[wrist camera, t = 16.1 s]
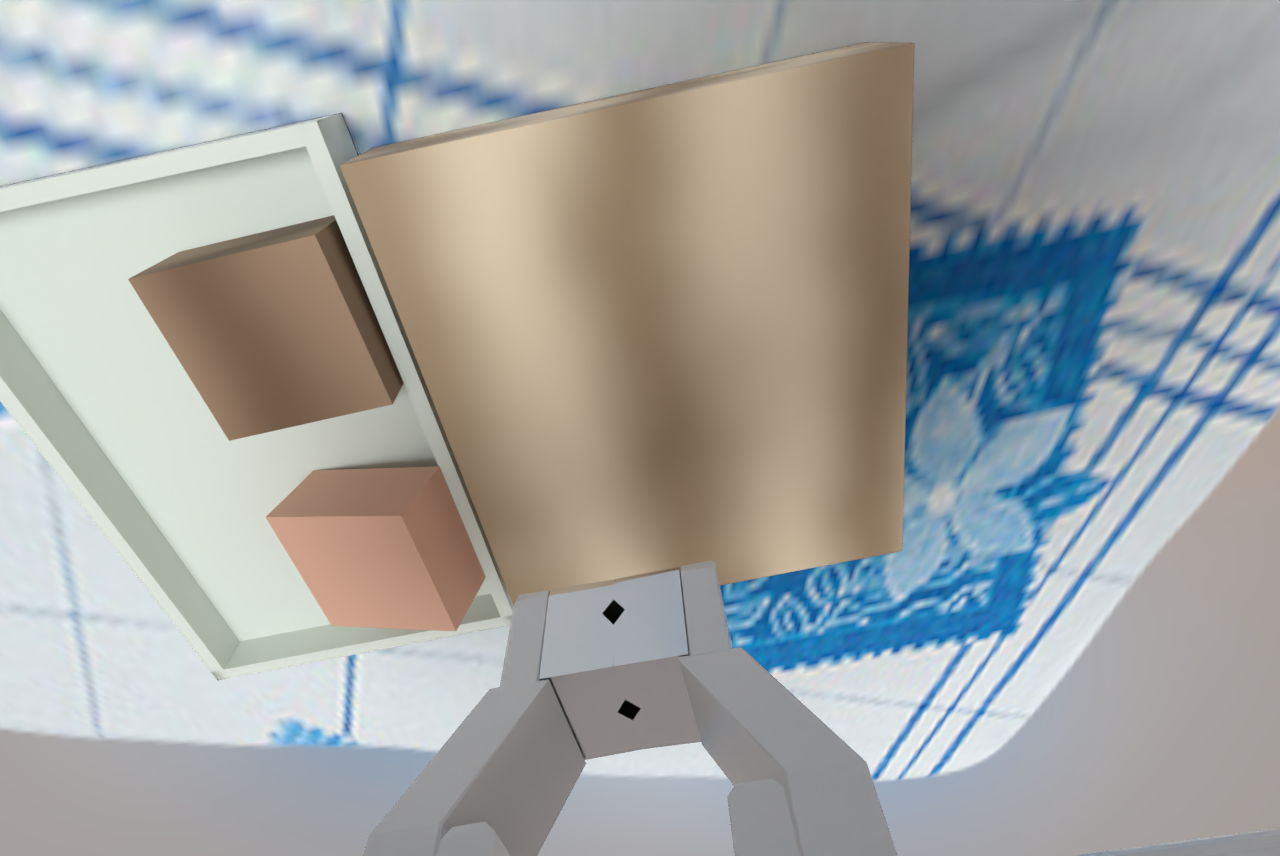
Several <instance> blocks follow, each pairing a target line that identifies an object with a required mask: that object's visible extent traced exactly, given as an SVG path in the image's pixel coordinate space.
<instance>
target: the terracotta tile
mask: <svg viewBox="0 0 1280 856" xmlns="http://www.w3.org/2000/svg"><path fill="white" fill-rule="evenodd" d="M266 519H267V521H268V522H269V524H270V525H271V527H272V529H273V530H274V532H275V534H276V535H277V537H278V539H279V540H280V542H281V543H282V545H283V547H284V548H285V550H286V552H287V553H288V555H289V557H290V558H291V560H292V562H293V563H294V565H295V566H296V568H297V570H298V571H299V573H300V575H301V576H302V578H303V580H304V581H305V583H306V584H307V586H308V588H309V589H310V591H311V593H312V594H313V596H314V598H315V599H316V601H317V603H318V604H319V606H320V607H321V609H322V611H323V612H324V614H325V616H326V617H327V619H328V621H329V622H330V624H331V625H332V626H346V627H369V628H391V629H414V630H436V631H457V629H458V627H459V625H460V624H461V622H462V620H463V618H464V616H465V614H466V613H467V611H468V609H469V607H470V605H471V604H472V602H473V600H474V598H475V596H476V594H477V593H478V591H479V589H480V587H481V585H482V584H483V582H484V580H485V578H486V577H485V574H484V572H483V569H482V567H481V565H480V562H479V560H478V557H477V555H476V553H475V550H474V548H473V545H472V543H471V541H470V538H469V536H468V533H467V531H466V529H465V526H464V524H463V521H462V519H461V517H460V514H459V512H458V509H457V507H456V505H455V502H454V500H453V497H452V495H451V493H450V490H449V488H448V485H447V483H446V481H445V478H444V476H443V473H442V471H441V469H440V466H434V467H404V468H373V469H343V470H313V471H312V472H311V473H310V474H309V475H308V476H307V477H306V478H305V479H304V480H303V481H302V482H301V483H300V484H299V485H298V486H297V487H296V488H295V489H294V490H293V491H292V492H291V493H290V494H289V495H288V496H287V497H286V498H285V499H284V500H283V501H282V502H280V503H279V504H278V505H277V506H276V507H275V508H274V509H273V510H272V511H271V512H270V513H269V514H268V515H267V516H266Z"/></svg>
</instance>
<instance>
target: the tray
mask: <svg viewBox="0 0 1280 856" xmlns="http://www.w3.org/2000/svg"><path fill="white" fill-rule="evenodd" d="M357 156H358V155H357V152H356V150H355V147H354V144H353V142H352V139H351V136H350V134H349V131H348V129H347V126H346V123H345V121H344V118H343V115H342V113H339V114H334V115H329V116H325V117H320V118H315V119H311V120H306V121H302V122H297V123H292V124H288V125H283V126H278V127H274V128H269V129H264V130H260V131H255V132H251V133H246V134H241V135H237V136H232V137H227V138H223V139H218V140H213V141H209V142H204V143H200V144H195V145H190V146H186V147H181V148H176V149H172V150H167V151H163V152H158V153H153V154H149V155H144V156H139V157H135V158H130V159H125V160H121V161H116V162H112V163H107V164H102V165H98V166H93V167H88V168H84V169H79V170H74V171H70V172H65V173H61V174H56V175H51V176H47V177H42V178H37V179H33V180H28V181H24V182H19V183H14V184H10V185H5V186H0V401H1V403H2V404H3V405H4V407H5V408H6V409H7V410H8V412H9V413H10V414H11V416H12V417H13V418H14V419H15V421H16V422H17V423H18V425H19V426H20V427H21V428H22V430H23V431H24V432H25V434H26V435H27V436H28V437H29V439H30V440H31V441H32V443H33V444H34V445H35V446H36V448H37V449H38V450H39V451H40V453H41V454H42V455H43V457H44V458H45V459H46V460H47V462H48V463H49V464H50V466H51V467H52V468H53V469H54V471H55V472H56V473H57V475H58V476H59V477H60V478H61V480H62V481H63V482H64V484H65V485H66V486H67V487H68V489H69V490H70V491H71V493H72V494H73V495H74V496H75V498H76V499H77V500H78V502H79V503H80V504H81V505H82V507H83V508H84V509H85V511H86V512H87V513H88V514H89V516H90V517H91V518H92V520H93V521H94V522H95V523H96V525H97V526H98V527H99V529H100V530H101V531H102V532H103V534H104V535H105V536H106V538H107V539H108V540H109V541H110V543H111V544H112V545H113V547H114V548H115V549H116V550H117V552H118V553H119V554H120V556H121V557H122V558H123V559H124V561H125V562H126V563H127V565H128V566H129V567H130V568H131V570H132V571H133V572H134V574H135V575H136V576H137V577H138V579H139V580H140V581H141V583H142V584H143V585H144V586H145V588H146V589H147V590H148V592H149V593H150V594H151V595H152V597H153V598H154V599H155V601H156V602H157V603H158V604H159V606H160V607H161V608H162V610H163V611H164V612H165V613H166V615H167V616H168V617H169V619H170V620H171V621H172V622H173V624H174V625H175V626H176V628H177V629H178V630H179V631H180V633H181V634H182V635H183V637H184V638H185V639H186V640H187V642H188V643H189V644H190V646H191V647H192V648H193V649H194V651H195V652H196V653H197V655H198V656H199V657H200V658H201V660H202V661H203V662H204V664H205V665H206V666H207V667H208V669H209V670H210V671H211V673H212V674H213V675H214V676H215V678H216V679H217V680H223V679H228V678H233V677H238V676H244V675H249V674H254V673H260V672H265V671H270V670H275V669H281V668H286V667H291V666H297V665H302V664H307V663H312V662H318V661H323V660H328V659H334V658H339V657H344V656H349V655H355V654H360V653H365V652H371V651H376V650H381V649H386V648H392V647H397V646H402V645H408V644H413V643H418V642H423V641H429V640H434V639H439V638H445V637H450V636H455V635H460V634H466V633H471V632H476V631H482V630H487V629H492V628H497V627H503V626H508V625H511V620H512V614H513V608H514V605H513V603H512V600H511V598H510V595H509V593H508V590H507V587H506V585H505V582H504V580H503V577H502V575H501V572H500V570H499V567H498V565H497V562H496V560H495V557H494V555H493V552H492V549H491V547H490V544H489V542H488V539H487V537H486V534H485V532H484V529H483V527H482V524H481V522H480V519H479V517H478V514H477V512H476V509H475V506H474V504H473V501H472V499H471V496H470V494H469V491H468V489H467V486H466V484H465V481H464V479H463V476H462V474H461V471H460V469H459V466H458V463H457V461H456V458H455V456H454V453H453V451H452V448H451V446H450V443H449V441H448V438H447V436H446V433H445V431H444V428H443V426H442V423H441V420H440V418H439V415H438V413H437V410H436V408H435V405H434V403H433V400H432V398H431V395H430V393H429V390H428V388H427V385H426V383H425V380H424V377H423V375H422V372H421V370H420V367H419V365H418V362H417V360H416V357H415V355H414V352H413V350H412V347H411V345H410V342H409V340H408V337H407V334H406V332H405V329H404V327H403V324H402V322H401V319H400V317H399V314H398V312H397V309H396V307H395V304H394V302H393V299H392V297H391V294H390V291H389V289H388V286H387V284H386V281H385V279H384V276H383V274H382V271H381V269H380V266H379V264H378V261H377V259H376V256H375V253H374V251H373V248H372V246H371V243H370V241H369V238H368V236H367V233H366V231H365V228H364V226H363V223H362V221H361V218H360V216H359V213H358V210H357V208H356V205H355V203H354V200H353V198H352V195H351V193H350V190H349V188H348V185H347V183H346V180H345V178H344V175H343V173H342V170H341V167H340V165H342V164H344V163H345V162H347V161H349V160H351V159H353V158H355V157H357ZM333 215H334V216H335V218H336V221H337V223H338V226H339V228H340V230H341V233H342V235H343V238H344V240H345V243H346V245H347V247H348V250H349V252H350V255H351V257H352V259H353V262H354V264H355V267H356V269H357V271H358V274H359V276H360V279H361V281H362V284H363V286H364V288H365V291H366V293H367V296H368V298H369V300H370V303H371V305H372V308H373V310H374V313H375V315H376V317H377V320H378V322H379V325H380V327H381V329H382V332H383V334H384V337H385V339H386V341H387V344H388V346H389V349H390V351H391V354H392V356H393V358H394V361H395V363H396V366H397V368H398V370H399V373H400V375H401V378H402V380H403V382H404V384H403V386H402V387H401V389H400V391H399V393H398V395H397V397H396V399H395V401H394V403H393V404H392V405H388V406H384V407H379V408H375V409H370V410H366V411H361V412H357V413H352V414H348V415H343V416H339V417H334V418H330V419H325V420H321V421H316V422H312V423H307V424H303V425H298V426H294V427H289V428H285V429H280V430H276V431H271V432H267V433H262V434H258V435H253V436H249V437H244V438H240V439H235V440H231V441H229V440H228V438H227V437H226V435H225V434H224V432H223V430H222V429H221V427H220V426H219V424H218V422H217V421H216V419H215V418H214V416H213V414H212V413H211V411H210V410H209V408H208V406H207V405H206V403H205V402H204V400H203V398H202V397H201V395H200V394H199V392H198V390H197V389H196V387H195V386H194V384H193V382H192V381H191V379H190V378H189V376H188V374H187V373H186V371H185V370H184V368H183V366H182V365H181V363H180V362H179V360H178V358H177V357H176V355H175V354H174V352H173V350H172V349H171V347H170V346H169V344H168V342H167V341H166V339H165V338H164V336H163V334H162V333H161V331H160V330H159V328H158V326H157V325H156V323H155V322H154V320H153V318H152V317H151V315H150V314H149V312H148V310H147V309H146V307H145V306H144V304H143V302H142V301H141V299H140V298H139V296H138V294H137V293H136V291H135V290H134V288H133V286H132V285H131V283H130V282H129V280H128V279H129V278H131V277H133V276H135V275H136V274H138V273H140V272H142V271H144V270H146V269H148V268H150V267H151V266H153V265H155V264H157V263H159V262H161V261H163V260H165V259H166V258H168V257H170V256H172V255H174V254H176V253H178V252H180V251H185V250H189V249H193V248H197V247H202V246H206V245H210V244H214V243H218V242H223V241H227V240H231V239H235V238H240V237H244V236H248V235H252V234H257V233H261V232H265V231H269V230H274V229H278V228H282V227H286V226H290V225H295V224H299V223H303V222H307V221H312V220H316V219H320V218H324V217H329V216H333ZM434 466H440V469H441V471H442V473H443V476H444V478H445V481H446V483H447V485H448V488H449V490H450V493H451V495H452V497H453V500H454V502H455V505H456V507H457V509H458V512H459V514H460V517H461V519H462V521H463V524H464V526H465V529H466V531H467V533H468V536H469V538H470V541H471V543H472V545H473V548H474V550H475V553H476V555H477V557H478V560H479V562H480V565H481V567H482V569H483V572H484V574H485V577H486V578H485V580H484V582H483V584H482V585H481V587H480V589H479V591H478V593H477V594H476V596H475V598H474V600H473V602H472V604H471V605H470V607H469V609H468V611H467V613H466V614H465V616H464V618H463V620H462V622H461V624H460V625H459V627H458V629H457V631H436V630H414V629H391V628H369V627H346V626H332V625H331V624H330V622H329V621H328V619H327V617H326V616H325V614H324V612H323V611H322V609H321V607H320V606H319V604H318V603H317V601H316V599H315V598H314V596H313V594H312V593H311V591H310V589H309V588H308V586H307V584H306V583H305V581H304V580H303V578H302V576H301V575H300V573H299V571H298V570H297V568H296V566H295V565H294V563H293V562H292V560H291V558H290V557H289V555H288V553H287V552H286V550H285V548H284V547H283V545H282V543H281V542H280V540H279V539H278V537H277V535H276V534H275V532H274V530H273V529H272V527H271V525H270V524H269V522H268V521H267V519H266V516H267V515H268V514H269V513H270V512H271V511H272V510H273V509H274V508H275V507H276V506H277V505H278V504H279V503H280V502H282V501H283V500H284V499H285V498H286V497H287V496H288V495H289V494H290V493H291V492H292V491H293V490H294V489H295V488H296V487H297V486H298V485H299V484H300V483H301V482H302V481H303V480H304V479H305V478H306V477H307V476H308V475H309V474H310V473H311V472H312V471H313V470H343V469H373V468H404V467H434Z"/></svg>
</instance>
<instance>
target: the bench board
mask: <svg viewBox="0 0 1280 856" xmlns="http://www.w3.org/2000/svg"><path fill="white" fill-rule="evenodd" d="M913 78H914V43H892V42H865V43H861V44H856V45H851V46H847V47H842V48H837V49H833V50H828V51H823V52H819V53H814V54H809V55H805V56H800V57H795V58H790V59H786V60H781V61H776V62H772V63H767V64H762V65H758V66H753V67H748V68H744V69H739V70H734V71H730V72H725V73H720V74H716V75H711V76H706V77H702V78H697V79H692V80H688V81H683V82H678V83H674V84H669V85H664V86H659V87H655V88H650V89H645V90H641V91H636V92H631V93H627V94H622V95H617V96H613V97H608V98H603V99H599V100H594V101H589V102H585V103H580V104H575V105H571V106H566V107H561V108H557V109H552V110H547V111H543V112H538V113H533V114H529V115H524V116H519V117H514V118H510V119H505V120H500V121H496V122H491V123H486V124H482V125H477V126H472V127H468V128H463V129H458V130H454V131H449V132H444V133H440V134H435V135H430V136H426V137H421V138H416V139H412V140H407V141H402V142H398V143H393V144H388V145H384V146H379V147H374V148H372V149H370V150H368V151H366V152H364V153H362V154H360V155H359V156H357V157H355V158H353V159H351V160H349V161H347V162H345V163H344V164H342V165H340V167H341V170H342V173H343V175H344V178H345V180H346V183H347V185H348V188H349V190H350V193H351V195H352V198H353V200H354V203H355V205H356V208H357V210H358V213H359V216H360V218H361V221H362V223H363V226H364V228H365V231H366V233H367V236H368V238H369V241H370V243H371V246H372V248H373V251H374V253H375V256H376V259H377V261H378V264H379V266H380V269H381V271H382V274H383V276H384V279H385V281H386V284H387V286H388V289H389V291H390V294H391V297H392V299H393V302H394V304H395V307H396V309H397V312H398V314H399V317H400V319H401V322H402V324H403V327H404V329H405V332H406V334H407V337H408V340H409V342H410V345H411V347H412V350H413V352H414V355H415V357H416V360H417V362H418V365H419V367H420V370H421V372H422V375H423V377H424V380H425V383H426V385H427V388H428V390H429V393H430V395H431V398H432V400H433V403H434V405H435V408H436V410H437V413H438V415H439V418H440V420H441V423H442V426H443V428H444V431H445V433H446V436H447V438H448V441H449V443H450V446H451V448H452V451H453V453H454V456H455V458H456V461H457V463H458V466H459V469H460V471H461V474H462V476H463V479H464V481H465V484H466V486H467V489H468V491H469V494H470V496H471V499H472V501H473V504H474V506H475V509H476V512H477V514H478V517H479V519H480V522H481V524H482V527H483V529H484V532H485V534H486V537H487V539H488V542H489V544H490V547H491V549H492V552H493V555H494V557H495V560H496V562H497V565H498V567H499V570H500V572H501V575H502V577H503V580H504V582H505V585H506V587H507V590H508V593H509V595H510V598H511V600H512V603H513V605H514V603H515V602H516V600H517V598H518V596H519V595H521V594H528V593H535V592H541V591H548V590H552V589H556V588H562V587H569V586H575V585H582V584H588V583H595V582H601V581H608V580H614V579H618V578H623V577H628V576H634V575H639V574H644V573H649V572H655V571H660V570H665V569H671V568H676V567H680V568H681V566H685V565H690V564H696V563H701V562H706V561H711V560H713V561H714V562H715V565H716V570H717V574H718V579H719V584H720V585H724V584H730V583H735V582H740V581H746V580H751V579H756V578H761V577H767V576H772V575H777V574H783V573H788V572H793V571H798V570H804V569H809V568H814V567H820V566H825V565H830V564H835V563H841V562H846V561H851V560H857V559H862V558H867V557H872V556H878V555H883V554H888V553H894V552H899V551H902V545H903V503H904V460H905V418H906V375H907V333H908V290H909V248H910V206H911V163H912V121H913Z"/></svg>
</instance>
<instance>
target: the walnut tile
mask: <svg viewBox="0 0 1280 856" xmlns="http://www.w3.org/2000/svg"><path fill="white" fill-rule="evenodd" d="M128 280H129V282H130V283H131V285H132V286H133V288H134V290H135V291H136V293H137V294H138V296H139V298H140V299H141V301H142V302H143V304H144V306H145V307H146V309H147V310H148V312H149V314H150V315H151V317H152V318H153V320H154V322H155V323H156V325H157V326H158V328H159V330H160V331H161V333H162V334H163V336H164V338H165V339H166V341H167V342H168V344H169V346H170V347H171V349H172V350H173V352H174V354H175V355H176V357H177V358H178V360H179V362H180V363H181V365H182V366H183V368H184V370H185V371H186V373H187V374H188V376H189V378H190V379H191V381H192V382H193V384H194V386H195V387H196V389H197V390H198V392H199V394H200V395H201V397H202V398H203V400H204V402H205V403H206V405H207V406H208V408H209V410H210V411H211V413H212V414H213V416H214V418H215V419H216V421H217V422H218V424H219V426H220V427H221V429H222V430H223V432H224V434H225V435H226V437H227V438H228V440H229V441H231V440H235V439H240V438H244V437H249V436H253V435H258V434H262V433H267V432H271V431H276V430H280V429H285V428H289V427H294V426H298V425H303V424H307V423H312V422H316V421H321V420H325V419H330V418H334V417H339V416H343V415H348V414H352V413H357V412H361V411H366V410H370V409H375V408H379V407H384V406H388V405H392V404H393V403H394V401H395V399H396V397H397V395H398V393H399V391H400V389H401V387H402V386H403V384H404V382H403V380H402V378H401V375H400V373H399V370H398V368H397V366H396V363H395V361H394V358H393V356H392V354H391V351H390V349H389V346H388V344H387V341H386V339H385V337H384V334H383V332H382V329H381V327H380V325H379V322H378V320H377V317H376V315H375V313H374V310H373V308H372V305H371V303H370V300H369V298H368V296H367V293H366V291H365V288H364V286H363V284H362V281H361V279H360V276H359V274H358V271H357V269H356V267H355V264H354V262H353V259H352V257H351V255H350V252H349V250H348V247H347V245H346V243H345V240H344V238H343V235H342V233H341V230H340V228H339V226H338V223H337V221H336V218H335V216H334V215H333V216H329V217H324V218H320V219H316V220H312V221H307V222H303V223H299V224H295V225H290V226H286V227H282V228H278V229H274V230H269V231H265V232H261V233H257V234H252V235H248V236H244V237H240V238H235V239H231V240H227V241H223V242H218V243H214V244H210V245H206V246H202V247H197V248H193V249H189V250H185V251H180V252H178V253H176V254H174V255H172V256H170V257H168V258H166V259H165V260H163V261H161V262H159V263H157V264H155V265H153V266H151V267H150V268H148V269H146V270H144V271H142V272H140V273H138V274H136V275H135V276H133V277H131V278H129V279H128Z"/></svg>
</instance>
